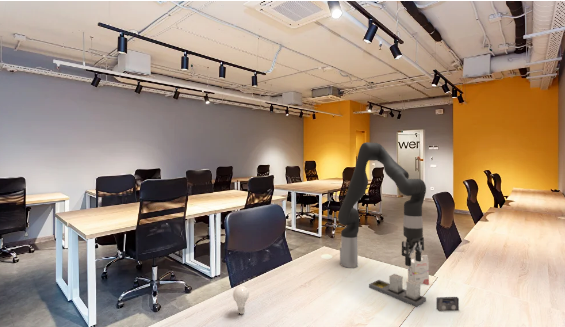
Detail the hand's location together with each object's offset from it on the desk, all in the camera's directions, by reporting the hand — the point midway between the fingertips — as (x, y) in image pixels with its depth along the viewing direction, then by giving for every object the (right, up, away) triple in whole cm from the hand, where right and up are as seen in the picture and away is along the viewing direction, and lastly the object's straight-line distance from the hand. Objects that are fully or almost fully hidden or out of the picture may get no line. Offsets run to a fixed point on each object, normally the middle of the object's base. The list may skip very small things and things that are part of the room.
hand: (413, 263), depth 120 cm
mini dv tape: (+11, -18, -7) cm, 22 cm away
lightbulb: (-73, -18, -6) cm, 75 cm away
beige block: (-5, -16, +7) cm, 18 cm away
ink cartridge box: (+11, -17, +19) cm, 28 cm away
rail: (-5, -17, +7) cm, 19 cm away
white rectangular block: (0, -16, 0) cm, 16 cm away
